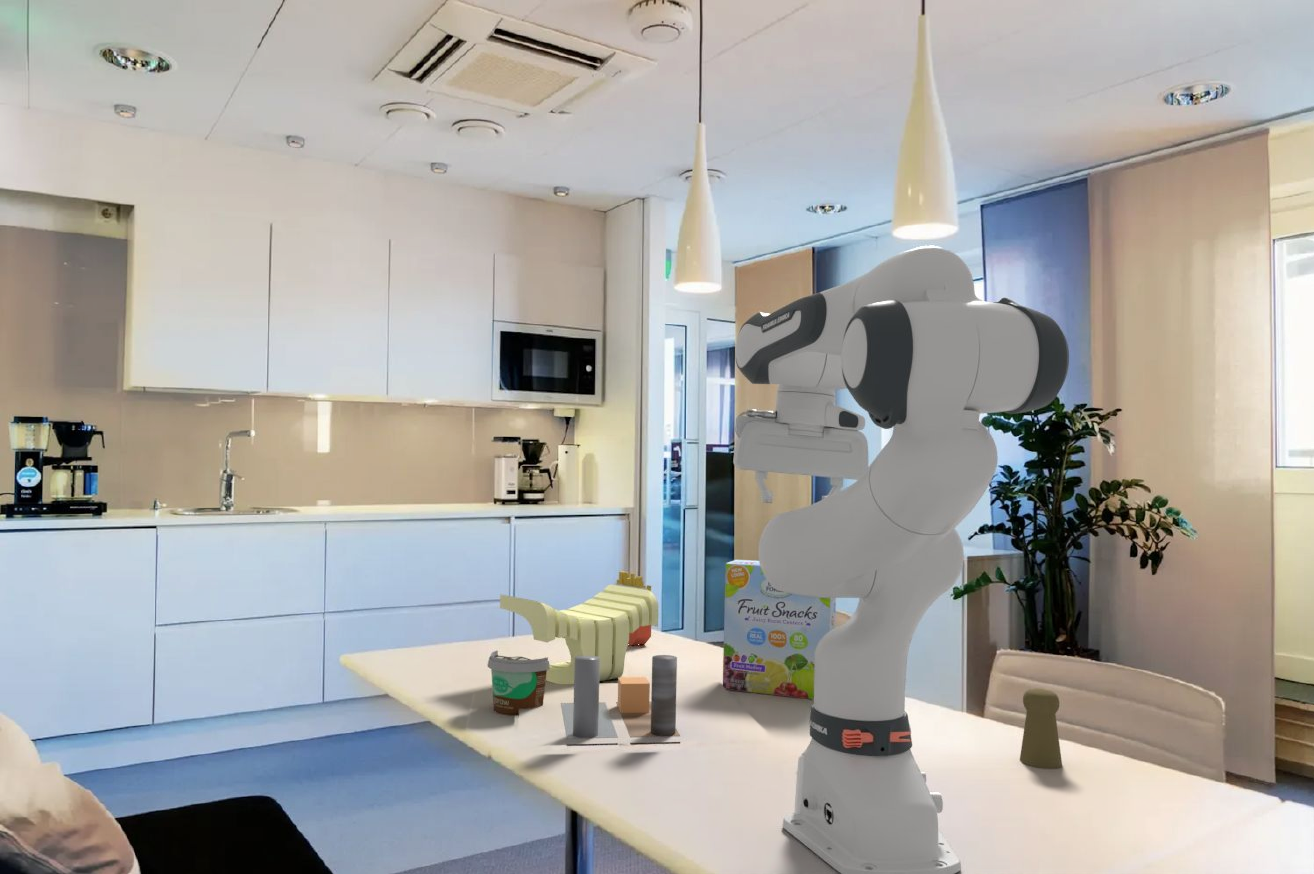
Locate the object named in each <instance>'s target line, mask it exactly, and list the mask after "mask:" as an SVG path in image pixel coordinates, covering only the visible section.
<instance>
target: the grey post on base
mask: <svg viewBox="0 0 1314 874" xmlns="http://www.w3.org/2000/svg"><path fill="white" fill-rule="evenodd" d="M599 673H600V658H599V657H597V656H577V657H575V669H574V684H573V702H561V703H560V704H561V711H562V717H563V723H564V729H565V735H566V739H569V740H570V739H607V738H613V739H614V738H615V739H616V738H617V739H618V738H619V736H618V733H617V731H616V728H615V725H614V723H613V719H612V717H611V714H610V712H609V708H608V705H607V704H606V701H605V702H603V701H602V702H600V681H599ZM618 745H619V744H618V742H614V743H612V742H610V743H609V742H608V743H569V744H567V743H566V747H577V746H578V747H581V746H582V747H584V746H589V747H590V746H618Z"/></svg>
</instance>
